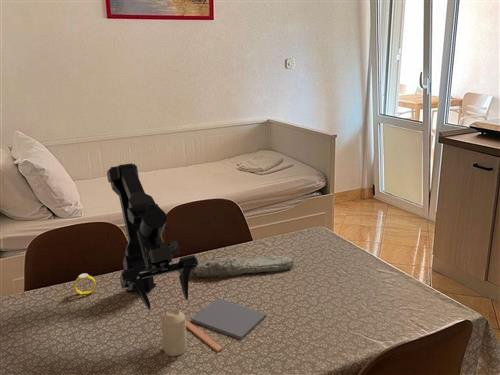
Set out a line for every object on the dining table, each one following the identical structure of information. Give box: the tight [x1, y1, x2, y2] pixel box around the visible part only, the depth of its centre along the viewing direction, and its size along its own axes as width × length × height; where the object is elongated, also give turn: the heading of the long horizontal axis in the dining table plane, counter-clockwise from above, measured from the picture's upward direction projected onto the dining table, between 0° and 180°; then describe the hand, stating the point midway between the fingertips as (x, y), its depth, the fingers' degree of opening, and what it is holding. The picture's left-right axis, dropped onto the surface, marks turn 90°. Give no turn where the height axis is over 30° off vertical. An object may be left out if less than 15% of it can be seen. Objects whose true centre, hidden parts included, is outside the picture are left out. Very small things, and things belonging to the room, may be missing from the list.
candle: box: [160, 308, 188, 357], centre depth 113 cm, size 6×6×10 cm
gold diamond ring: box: [73, 272, 97, 296], centre depth 141 cm, size 6×3×6 cm, turn 105°
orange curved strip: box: [185, 318, 224, 353], centre depth 120 cm, size 18×2×1 cm, turn 40°
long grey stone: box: [191, 255, 295, 278], centre depth 154 cm, size 35×5×10 cm
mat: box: [190, 298, 267, 340], centre depth 127 cm, size 16×12×1 cm
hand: (168, 304), depth 114 cm, fingers open, 9 cm apart
